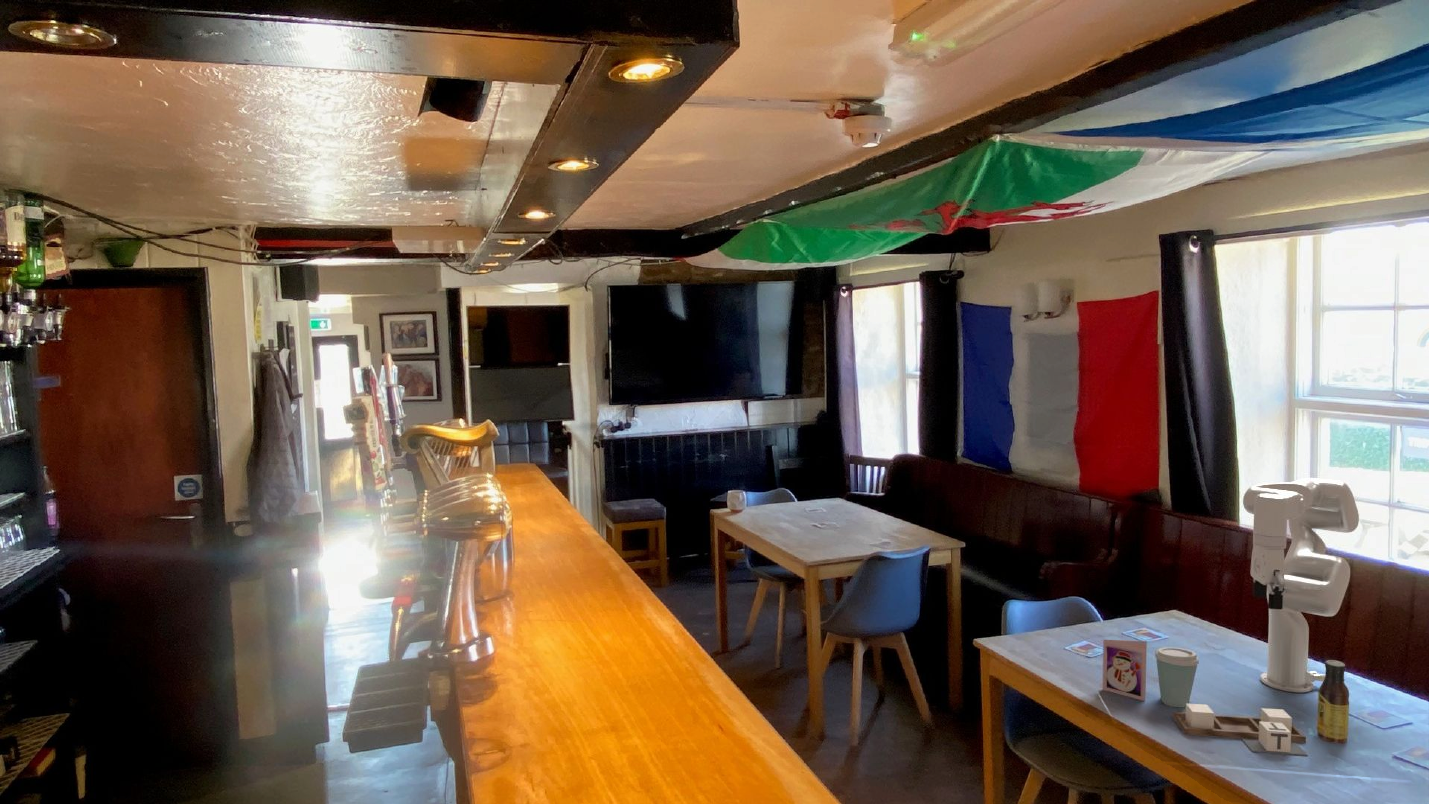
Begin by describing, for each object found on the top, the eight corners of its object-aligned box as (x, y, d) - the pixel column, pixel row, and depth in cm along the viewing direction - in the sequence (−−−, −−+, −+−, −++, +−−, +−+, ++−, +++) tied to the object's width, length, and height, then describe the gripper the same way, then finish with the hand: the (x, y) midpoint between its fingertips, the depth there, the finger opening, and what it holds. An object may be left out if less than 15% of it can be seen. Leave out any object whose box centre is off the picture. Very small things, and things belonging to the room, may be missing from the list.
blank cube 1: (1206, 723, 223) (1207, 704, 222) (1213, 732, 218) (1214, 713, 217) (1185, 722, 224) (1185, 703, 223) (1192, 730, 219) (1192, 711, 218)
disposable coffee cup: (1144, 699, 239) (1145, 646, 237) (1173, 693, 242) (1174, 641, 241) (1177, 715, 229) (1178, 660, 228) (1206, 708, 233) (1208, 654, 231)
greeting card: (1101, 691, 244) (1102, 640, 243) (1111, 684, 249) (1112, 633, 248) (1144, 703, 236) (1145, 650, 235) (1153, 695, 241) (1154, 643, 240)
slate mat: (1296, 746, 211) (1296, 743, 211) (1307, 758, 205) (1307, 754, 205) (1242, 742, 213) (1242, 739, 213) (1252, 754, 207) (1252, 750, 207)
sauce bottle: (1317, 731, 218) (1320, 655, 217) (1348, 738, 214) (1351, 660, 213) (1315, 741, 213) (1318, 663, 212) (1346, 748, 209) (1350, 669, 208)
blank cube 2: (1282, 728, 219) (1282, 709, 219) (1291, 737, 214) (1291, 718, 214) (1260, 727, 220) (1261, 708, 220) (1268, 736, 215) (1269, 716, 215)
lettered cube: (1281, 742, 211) (1281, 722, 211) (1290, 752, 206) (1291, 732, 206) (1258, 741, 212) (1259, 721, 212) (1267, 750, 207) (1267, 730, 207)
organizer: (1288, 727, 221) (1288, 719, 221) (1305, 744, 212) (1306, 736, 211) (1172, 719, 226) (1173, 711, 226) (1185, 736, 217) (1185, 728, 217)
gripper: (1241, 532, 239) (1239, 592, 241) (1267, 548, 223) (1265, 612, 224) (1271, 533, 238) (1269, 594, 239) (1300, 549, 221) (1297, 614, 222)
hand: (1267, 603), depth 232 cm, fingers open, 9 cm apart
